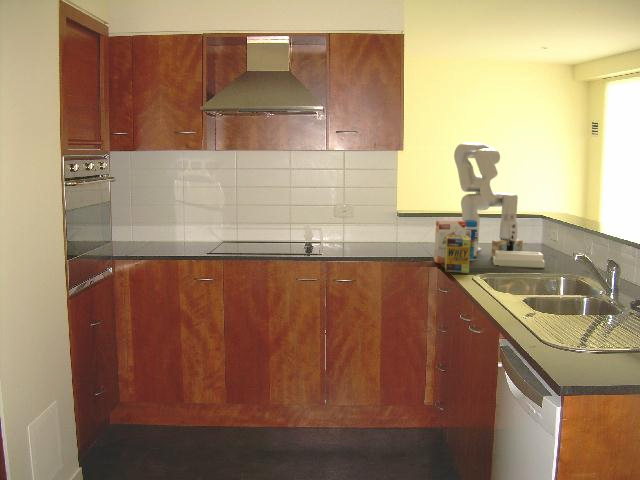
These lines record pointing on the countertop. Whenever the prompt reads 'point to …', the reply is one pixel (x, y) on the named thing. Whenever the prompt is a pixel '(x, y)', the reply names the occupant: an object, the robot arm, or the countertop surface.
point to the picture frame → (505, 246)
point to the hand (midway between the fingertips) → (506, 251)
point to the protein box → (457, 253)
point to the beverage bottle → (472, 238)
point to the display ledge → (519, 259)
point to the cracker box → (440, 236)
